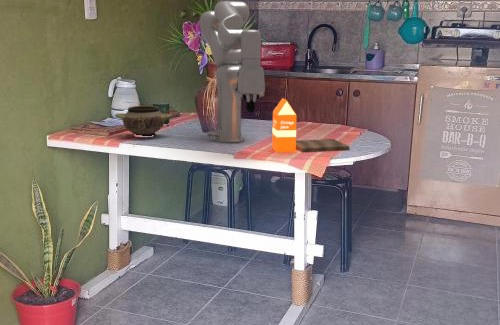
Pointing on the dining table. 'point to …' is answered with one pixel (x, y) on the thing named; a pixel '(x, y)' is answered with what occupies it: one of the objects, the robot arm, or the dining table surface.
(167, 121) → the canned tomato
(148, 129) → the ceramic bowl
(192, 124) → the dining table surface
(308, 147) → the walnut board
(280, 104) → the orange juice
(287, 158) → the dining table surface
